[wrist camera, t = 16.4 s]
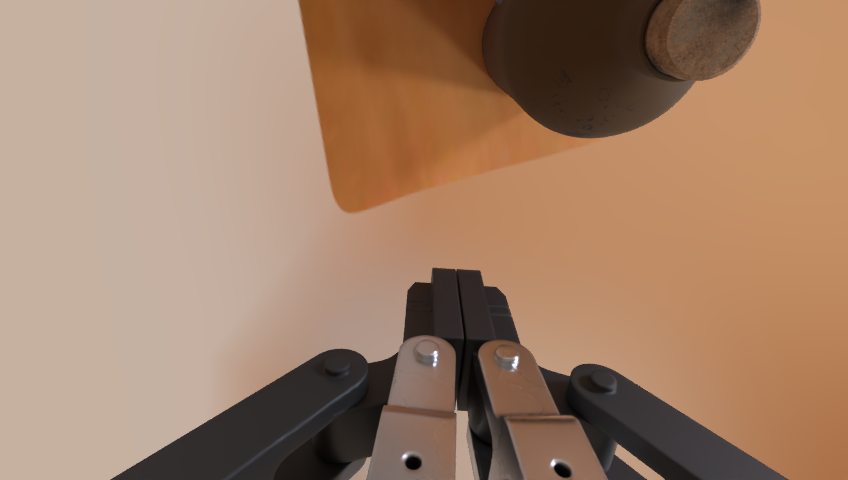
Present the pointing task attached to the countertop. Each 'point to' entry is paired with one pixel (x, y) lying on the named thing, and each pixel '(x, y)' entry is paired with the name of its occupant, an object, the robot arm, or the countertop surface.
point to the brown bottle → (611, 56)
